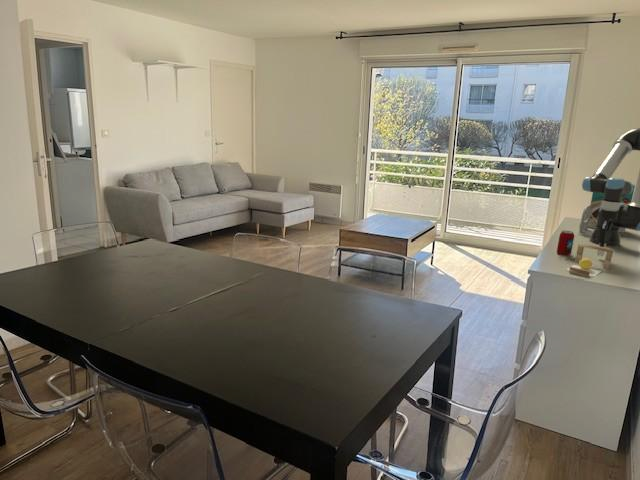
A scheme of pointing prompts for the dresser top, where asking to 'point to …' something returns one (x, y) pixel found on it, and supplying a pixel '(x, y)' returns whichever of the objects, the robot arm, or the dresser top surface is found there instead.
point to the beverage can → (565, 243)
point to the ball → (585, 263)
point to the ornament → (585, 224)
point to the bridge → (608, 250)
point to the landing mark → (592, 271)
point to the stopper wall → (579, 271)
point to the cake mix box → (596, 204)
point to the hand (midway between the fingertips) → (600, 255)
